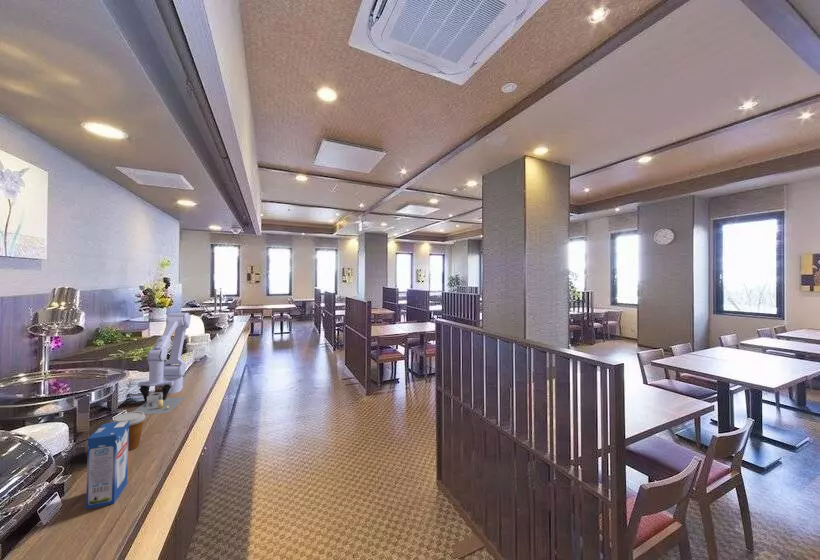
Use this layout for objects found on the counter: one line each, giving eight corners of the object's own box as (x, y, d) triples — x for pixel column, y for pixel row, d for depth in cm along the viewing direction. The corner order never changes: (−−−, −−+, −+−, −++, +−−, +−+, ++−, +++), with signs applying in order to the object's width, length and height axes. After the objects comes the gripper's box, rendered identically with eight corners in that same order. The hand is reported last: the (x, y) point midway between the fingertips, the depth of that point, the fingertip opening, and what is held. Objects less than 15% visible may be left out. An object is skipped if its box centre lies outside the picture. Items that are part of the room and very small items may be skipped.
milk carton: (101, 488, 102) (103, 423, 101) (127, 483, 104) (129, 420, 104) (85, 509, 92) (87, 438, 92) (114, 504, 95) (116, 434, 95)
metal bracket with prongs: (152, 400, 167) (152, 392, 167) (163, 400, 168) (164, 392, 168) (143, 406, 159) (143, 398, 159) (156, 406, 160) (156, 398, 160)
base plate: (149, 401, 168) (150, 391, 168) (185, 399, 173) (185, 390, 173) (127, 417, 149) (128, 406, 149) (168, 415, 153) (169, 404, 153)
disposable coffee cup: (129, 454, 120) (130, 422, 120) (104, 453, 120) (105, 420, 120) (150, 441, 129) (151, 411, 129) (127, 440, 130) (128, 410, 130)
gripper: (134, 376, 159) (133, 404, 159) (169, 375, 163) (168, 402, 163) (142, 372, 166) (141, 399, 166) (175, 371, 169) (174, 397, 170)
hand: (155, 400), depth 165 cm, fingers open, 7 cm apart
